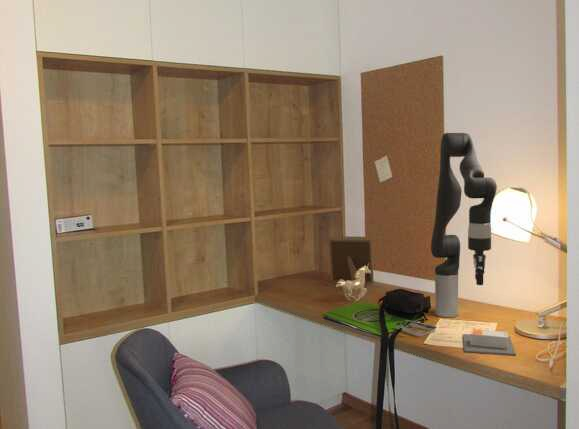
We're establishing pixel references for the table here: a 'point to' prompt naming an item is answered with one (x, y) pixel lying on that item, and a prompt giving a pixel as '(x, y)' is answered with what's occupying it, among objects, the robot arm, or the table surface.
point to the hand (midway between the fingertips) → (479, 282)
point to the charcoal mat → (487, 348)
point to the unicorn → (355, 283)
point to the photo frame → (350, 257)
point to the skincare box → (489, 338)
